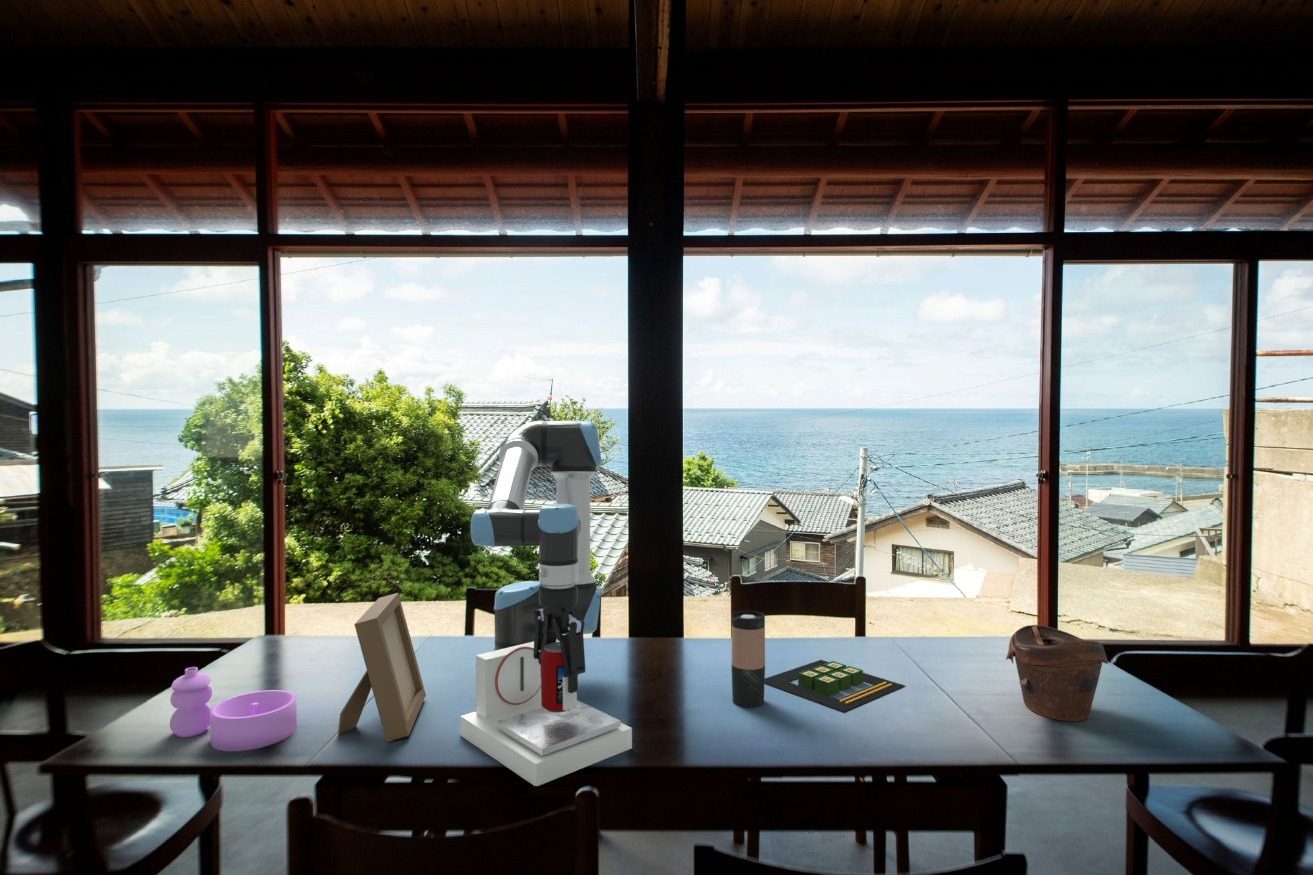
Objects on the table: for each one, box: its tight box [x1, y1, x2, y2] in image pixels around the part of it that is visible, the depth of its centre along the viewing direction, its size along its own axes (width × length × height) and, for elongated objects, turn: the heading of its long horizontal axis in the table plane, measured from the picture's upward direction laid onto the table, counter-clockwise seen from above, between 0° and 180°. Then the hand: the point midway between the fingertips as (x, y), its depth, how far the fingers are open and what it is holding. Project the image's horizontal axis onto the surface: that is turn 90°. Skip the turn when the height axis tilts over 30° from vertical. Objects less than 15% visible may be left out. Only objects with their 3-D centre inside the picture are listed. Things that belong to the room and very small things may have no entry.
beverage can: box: [541, 641, 570, 713], centre depth 137 cm, size 7×7×12 cm
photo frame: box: [337, 592, 427, 743], centre depth 151 cm, size 15×22×25 cm
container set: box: [169, 666, 298, 752], centre depth 145 cm, size 25×15×13 cm, turn 85°
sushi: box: [765, 659, 906, 714], centre depth 173 cm, size 25×25×4 cm
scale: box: [459, 642, 633, 787], centre depth 141 cm, size 28×22×17 cm
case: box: [1005, 624, 1109, 722], centre depth 157 cm, size 18×20×18 cm
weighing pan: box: [496, 699, 622, 756], centre depth 137 cm, size 16×18×1 cm
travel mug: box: [731, 610, 766, 709], centre depth 161 cm, size 8×8×20 cm
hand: (558, 702), depth 137 cm, fingers closed on beverage can, 7 cm apart
